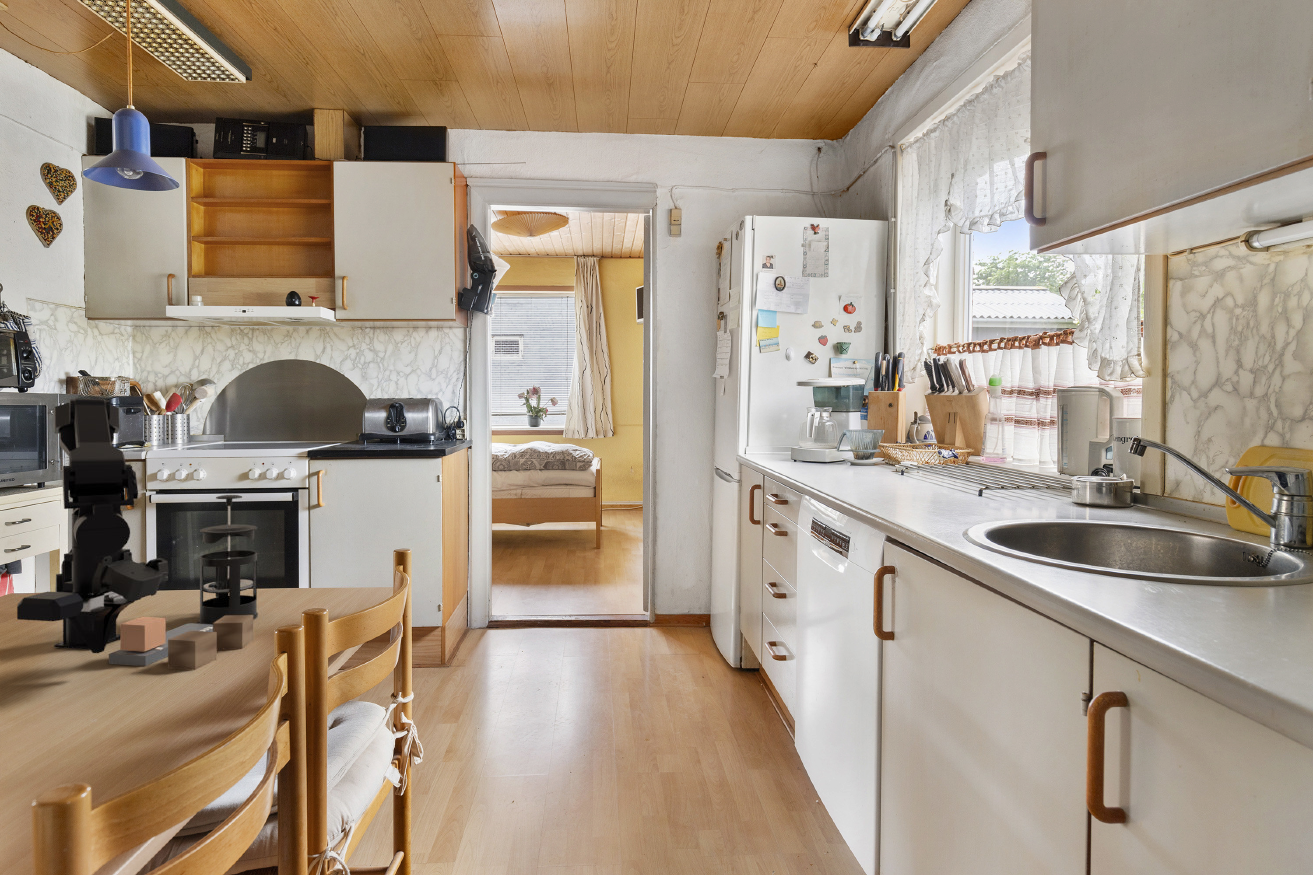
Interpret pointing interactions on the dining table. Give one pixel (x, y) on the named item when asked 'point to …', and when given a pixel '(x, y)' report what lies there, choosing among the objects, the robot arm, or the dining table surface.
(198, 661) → the walnut block near
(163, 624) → the salmon pink cube
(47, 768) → the dining table surface
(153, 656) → the base
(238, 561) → the french press
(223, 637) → the walnut block far
